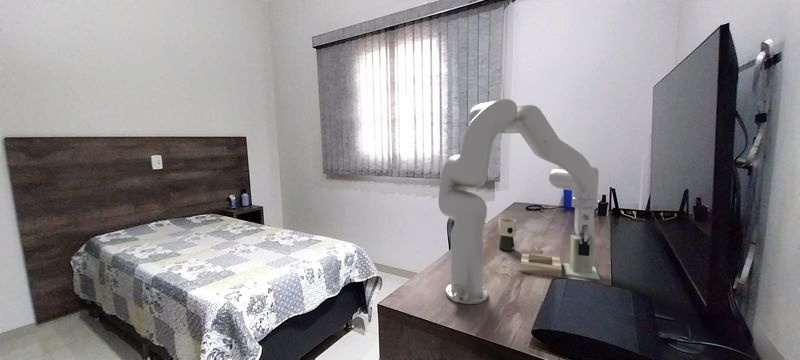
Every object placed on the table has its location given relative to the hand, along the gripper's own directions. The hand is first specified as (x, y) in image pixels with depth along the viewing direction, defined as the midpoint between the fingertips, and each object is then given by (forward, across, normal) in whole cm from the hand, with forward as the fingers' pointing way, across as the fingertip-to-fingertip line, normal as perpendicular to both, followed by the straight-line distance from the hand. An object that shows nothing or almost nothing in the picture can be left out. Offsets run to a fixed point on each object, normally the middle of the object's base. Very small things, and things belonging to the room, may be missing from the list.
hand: (581, 250), depth 109 cm
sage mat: (+8, 0, 0) cm, 8 cm away
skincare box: (+7, 0, 0) cm, 7 cm away
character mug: (+8, +15, +26) cm, 31 cm away
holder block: (+8, -1, +13) cm, 15 cm away
